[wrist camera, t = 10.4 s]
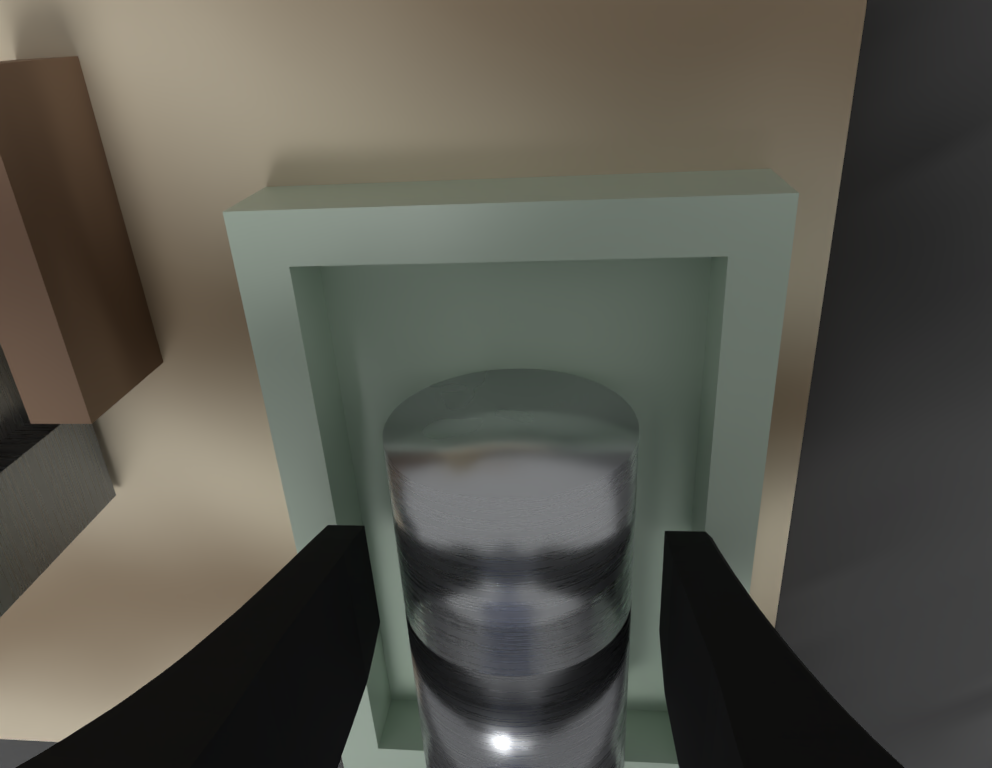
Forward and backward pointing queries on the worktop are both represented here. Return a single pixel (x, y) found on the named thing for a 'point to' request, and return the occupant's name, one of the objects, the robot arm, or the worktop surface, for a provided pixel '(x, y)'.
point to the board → (372, 159)
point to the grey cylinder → (516, 566)
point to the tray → (521, 363)
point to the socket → (65, 252)
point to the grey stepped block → (42, 489)
